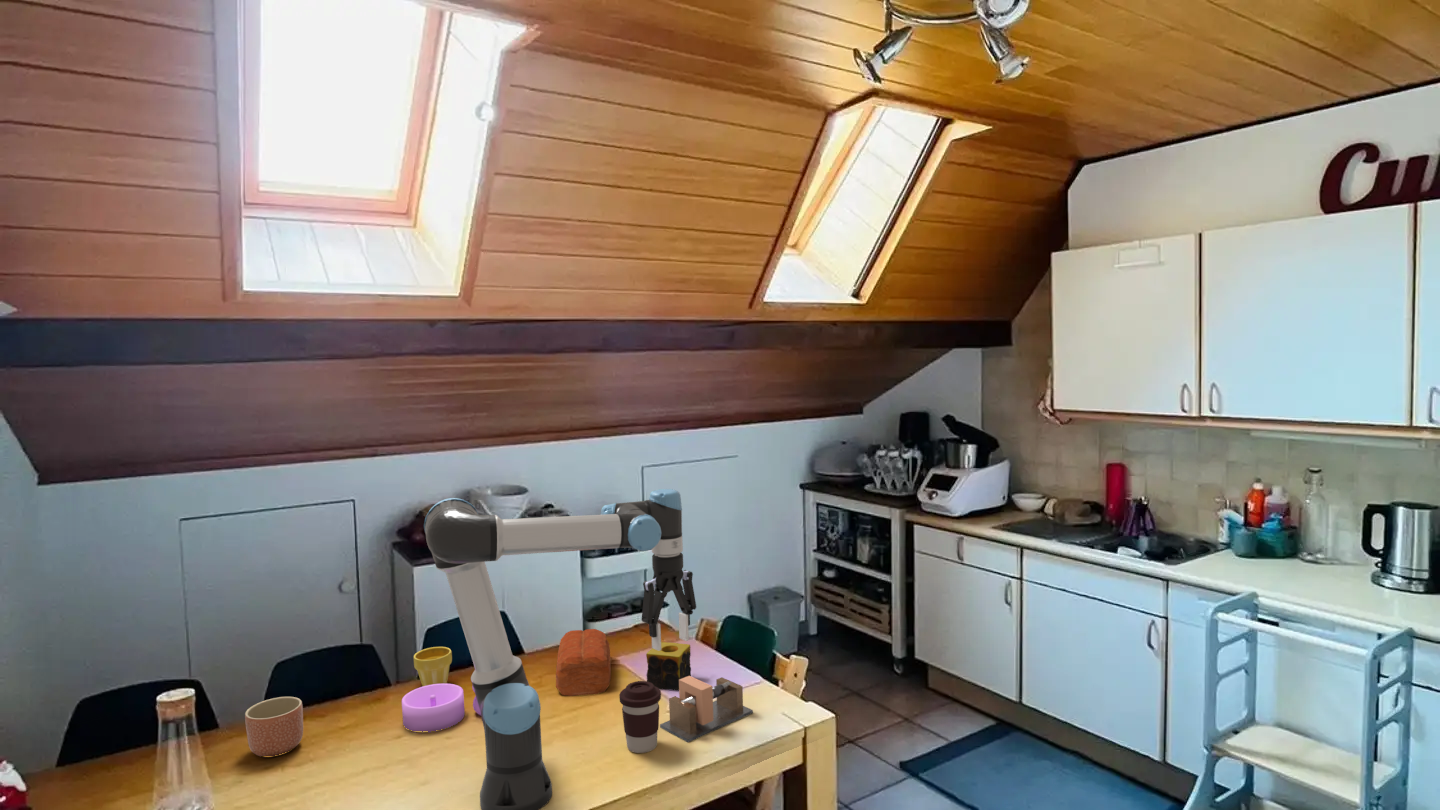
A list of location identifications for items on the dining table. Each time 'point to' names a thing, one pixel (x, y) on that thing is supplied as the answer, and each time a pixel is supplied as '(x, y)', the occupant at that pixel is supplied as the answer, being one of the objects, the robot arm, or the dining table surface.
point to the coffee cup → (640, 715)
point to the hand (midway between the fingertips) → (670, 644)
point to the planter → (274, 725)
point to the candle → (668, 665)
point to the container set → (434, 707)
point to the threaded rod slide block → (723, 711)
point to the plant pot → (433, 665)
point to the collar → (698, 697)
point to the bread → (583, 663)
